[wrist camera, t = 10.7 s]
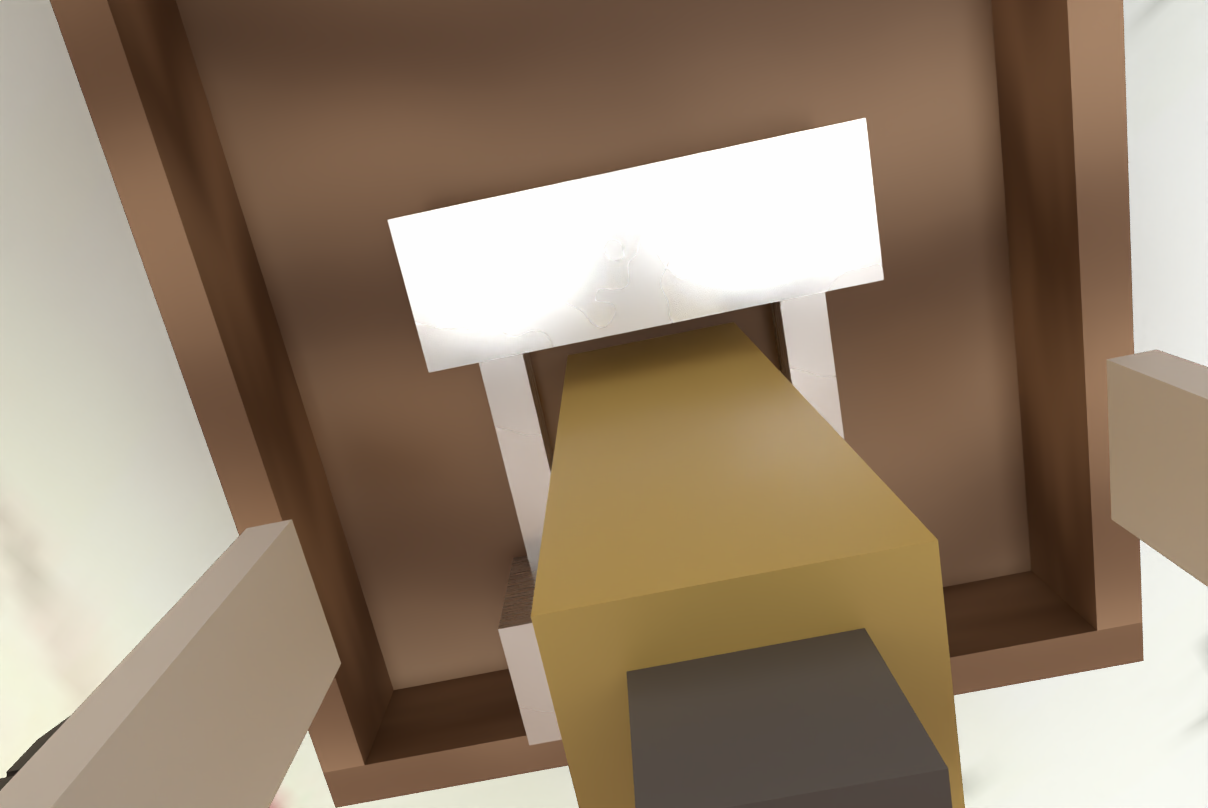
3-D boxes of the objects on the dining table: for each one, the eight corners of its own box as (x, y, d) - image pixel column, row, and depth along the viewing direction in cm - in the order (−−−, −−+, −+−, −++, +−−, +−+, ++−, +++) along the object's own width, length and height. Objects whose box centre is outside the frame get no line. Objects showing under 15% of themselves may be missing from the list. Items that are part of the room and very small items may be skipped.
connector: (567, 355, 20) (510, 755, 6) (733, 322, 19) (1049, 658, 6) (601, 508, 21) (614, 1134, 7) (758, 478, 21) (1074, 1060, 7)
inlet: (423, 211, 19) (387, 219, 15) (817, 127, 18) (865, 118, 15) (539, 659, 22) (529, 745, 19) (877, 596, 21) (928, 672, 18)
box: (115, -76, 18) (2, -135, 14) (1006, -283, 17) (1111, -398, 13) (373, 714, 23) (335, 807, 20) (1059, 586, 22) (1143, 660, 19)
